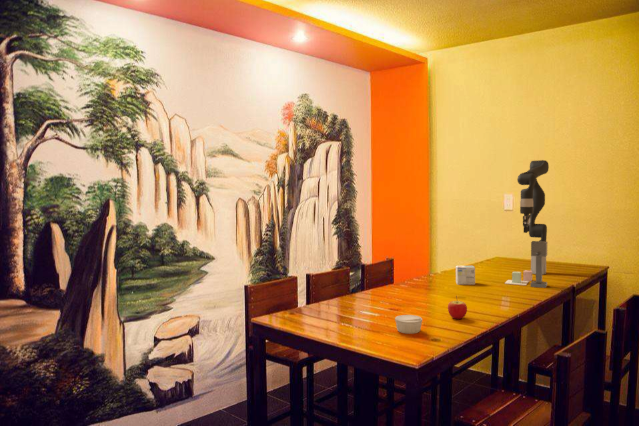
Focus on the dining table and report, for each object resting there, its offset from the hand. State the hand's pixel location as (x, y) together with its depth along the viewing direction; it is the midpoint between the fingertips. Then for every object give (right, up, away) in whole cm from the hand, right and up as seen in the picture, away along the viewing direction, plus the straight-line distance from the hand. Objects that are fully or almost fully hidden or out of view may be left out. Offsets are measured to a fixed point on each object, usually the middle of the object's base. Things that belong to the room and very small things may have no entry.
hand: (526, 232), depth 311 cm
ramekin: (-91, -37, -102) cm, 142 cm away
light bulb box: (-40, -31, -6) cm, 51 cm away
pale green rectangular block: (-9, -30, -6) cm, 32 cm away
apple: (-66, -36, -85) cm, 113 cm away
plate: (-8, -31, -6) cm, 32 cm away
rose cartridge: (+1, -30, 0) cm, 30 cm away
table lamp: (0, -31, -17) cm, 35 cm away
